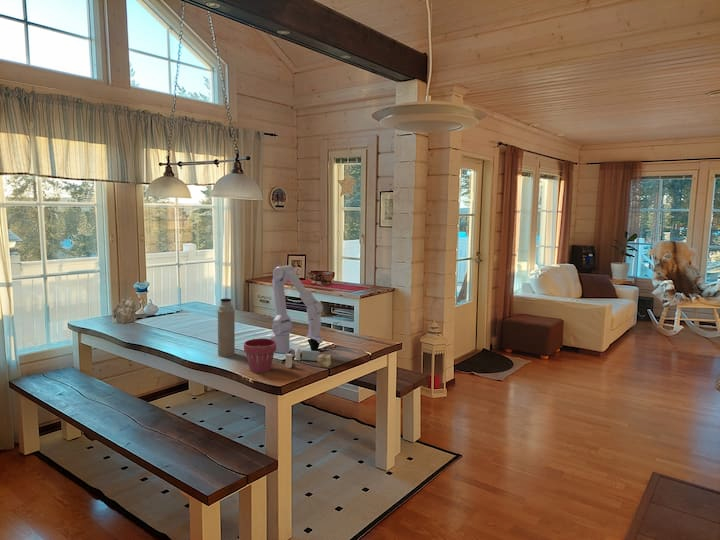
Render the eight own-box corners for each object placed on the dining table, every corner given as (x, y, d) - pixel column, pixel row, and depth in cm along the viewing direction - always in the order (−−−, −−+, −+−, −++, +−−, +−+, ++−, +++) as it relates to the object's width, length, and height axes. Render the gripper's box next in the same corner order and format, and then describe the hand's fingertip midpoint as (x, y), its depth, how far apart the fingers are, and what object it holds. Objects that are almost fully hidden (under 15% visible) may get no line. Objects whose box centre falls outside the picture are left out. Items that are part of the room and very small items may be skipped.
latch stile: (283, 367, 228) (283, 354, 227) (288, 363, 235) (288, 350, 234) (290, 368, 227) (290, 355, 227) (295, 363, 234) (295, 351, 233)
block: (317, 366, 231) (317, 356, 231) (320, 363, 236) (320, 354, 236) (327, 367, 230) (328, 357, 230) (330, 364, 235) (331, 354, 234)
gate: (301, 359, 240) (301, 350, 239) (302, 358, 241) (302, 349, 241) (319, 361, 238) (319, 352, 238) (319, 360, 239) (320, 351, 239)
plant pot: (238, 373, 218) (238, 345, 217) (251, 363, 232) (251, 337, 230) (269, 376, 215) (269, 347, 214) (280, 366, 229) (280, 339, 227)
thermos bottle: (234, 351, 250) (234, 297, 247) (235, 356, 242) (234, 300, 239) (217, 352, 248) (217, 297, 244) (218, 357, 240) (217, 300, 237)
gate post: (292, 359, 240) (293, 349, 239) (295, 357, 243) (295, 347, 242) (300, 360, 239) (300, 350, 238) (302, 358, 242) (302, 348, 242)
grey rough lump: (121, 316, 321) (120, 293, 318) (142, 319, 316) (141, 296, 313) (102, 322, 306) (100, 299, 304) (123, 326, 302) (122, 302, 299)
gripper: (301, 324, 246) (300, 350, 248) (313, 330, 234) (312, 358, 235) (314, 323, 250) (313, 349, 251) (326, 329, 237) (326, 357, 239)
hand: (314, 353), depth 243 cm, fingers closed
